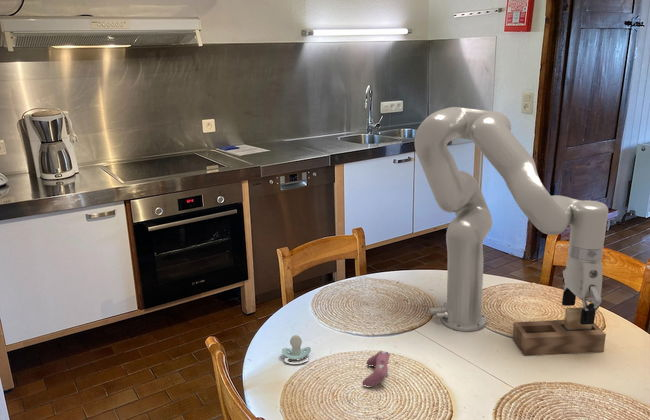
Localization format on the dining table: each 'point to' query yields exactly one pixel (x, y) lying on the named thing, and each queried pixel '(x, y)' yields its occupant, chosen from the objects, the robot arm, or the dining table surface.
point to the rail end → (574, 320)
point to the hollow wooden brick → (556, 338)
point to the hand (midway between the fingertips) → (577, 314)
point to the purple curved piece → (377, 368)
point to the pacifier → (296, 349)
